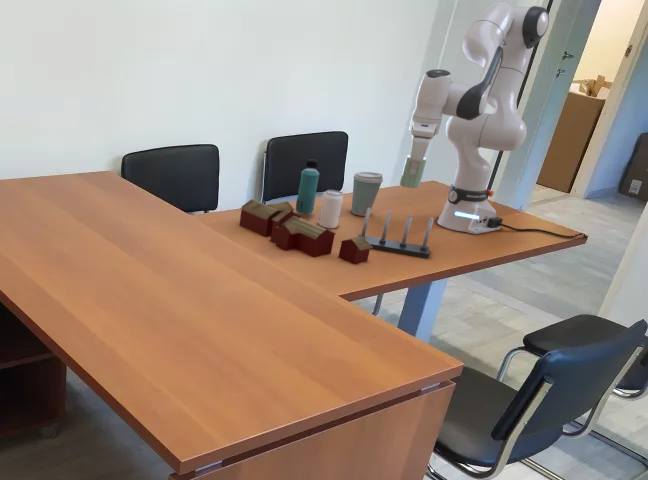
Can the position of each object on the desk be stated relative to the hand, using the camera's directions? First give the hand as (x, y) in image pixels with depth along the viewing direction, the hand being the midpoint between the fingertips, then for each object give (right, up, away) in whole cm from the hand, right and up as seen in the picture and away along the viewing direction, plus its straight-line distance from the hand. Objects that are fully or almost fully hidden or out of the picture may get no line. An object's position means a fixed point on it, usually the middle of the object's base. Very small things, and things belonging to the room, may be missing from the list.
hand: (413, 171), depth 227 cm
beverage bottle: (-29, -7, +31) cm, 43 cm away
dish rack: (-5, -24, +6) cm, 25 cm away
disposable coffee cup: (-6, -5, +38) cm, 39 cm away
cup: (0, -4, +2) cm, 5 cm away
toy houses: (-35, -22, +6) cm, 41 cm away
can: (-22, -13, +22) cm, 34 cm away
